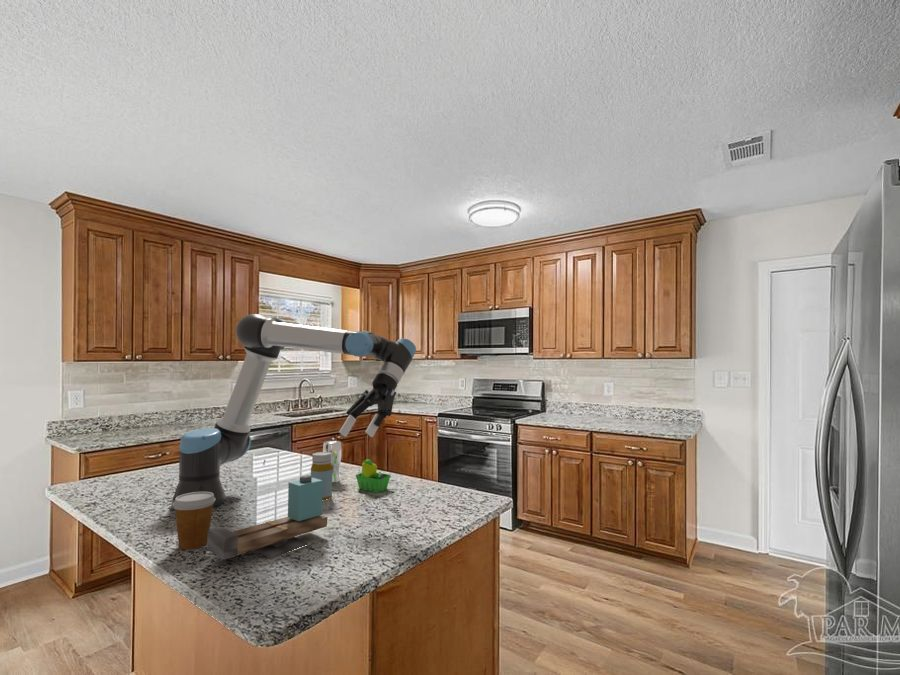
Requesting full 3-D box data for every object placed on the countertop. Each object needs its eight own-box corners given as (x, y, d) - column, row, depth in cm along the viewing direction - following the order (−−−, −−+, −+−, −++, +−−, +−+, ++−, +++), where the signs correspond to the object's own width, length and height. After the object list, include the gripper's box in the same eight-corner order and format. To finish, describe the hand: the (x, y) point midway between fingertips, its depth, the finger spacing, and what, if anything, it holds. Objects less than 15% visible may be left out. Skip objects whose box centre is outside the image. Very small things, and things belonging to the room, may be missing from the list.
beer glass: (324, 484, 175) (325, 444, 176) (320, 480, 182) (321, 441, 182) (343, 482, 179) (343, 442, 179) (338, 478, 185) (339, 440, 186)
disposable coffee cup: (182, 538, 122) (184, 491, 122) (220, 537, 123) (221, 490, 123) (163, 553, 112) (165, 502, 113) (204, 551, 113) (206, 501, 114)
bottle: (334, 495, 161) (335, 451, 161) (327, 502, 154) (328, 455, 154) (315, 495, 161) (315, 451, 162) (306, 501, 154) (307, 455, 155)
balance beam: (305, 527, 130) (305, 501, 130) (331, 538, 122) (331, 510, 123) (203, 558, 109) (204, 528, 110) (227, 573, 101) (228, 540, 102)
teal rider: (310, 518, 127) (311, 472, 128) (321, 522, 124) (322, 475, 125) (287, 525, 122) (288, 477, 123) (298, 529, 119) (299, 480, 119)
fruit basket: (392, 489, 170) (392, 457, 170) (375, 494, 162) (375, 462, 163) (368, 484, 176) (368, 454, 176) (351, 490, 168) (352, 458, 169)
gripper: (420, 383, 146) (389, 442, 134) (371, 388, 163) (340, 441, 151) (405, 368, 142) (372, 427, 130) (357, 375, 159) (324, 427, 147)
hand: (355, 434), depth 141 cm, fingers open, 13 cm apart
